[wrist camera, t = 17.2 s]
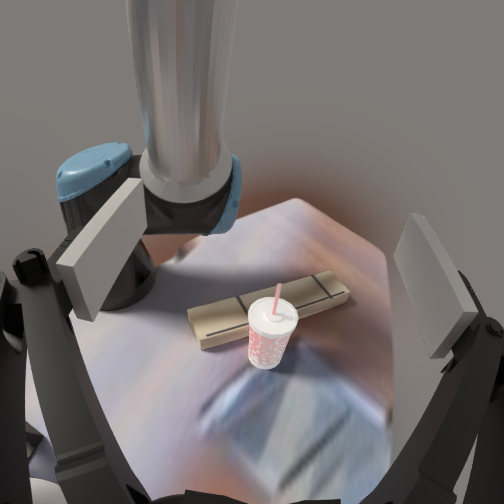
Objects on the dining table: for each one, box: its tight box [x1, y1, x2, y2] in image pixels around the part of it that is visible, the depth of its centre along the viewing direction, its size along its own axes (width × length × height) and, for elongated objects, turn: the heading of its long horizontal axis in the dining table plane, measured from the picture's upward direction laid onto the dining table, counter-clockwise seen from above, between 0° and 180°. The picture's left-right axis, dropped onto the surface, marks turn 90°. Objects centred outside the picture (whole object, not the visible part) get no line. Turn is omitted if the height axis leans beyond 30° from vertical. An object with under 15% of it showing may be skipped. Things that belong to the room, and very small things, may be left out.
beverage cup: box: [248, 283, 298, 369], centre depth 39 cm, size 6×6×14 cm
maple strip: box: [187, 270, 350, 350], centre depth 49 cm, size 6×26×3 cm, turn 115°
